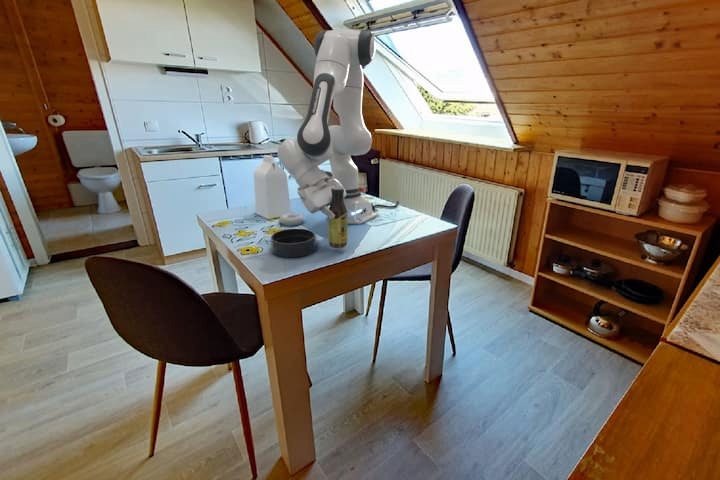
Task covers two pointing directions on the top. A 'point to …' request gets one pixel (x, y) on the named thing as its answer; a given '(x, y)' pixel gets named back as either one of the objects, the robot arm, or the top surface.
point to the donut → (291, 219)
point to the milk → (271, 189)
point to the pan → (293, 242)
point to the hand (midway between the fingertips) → (339, 214)
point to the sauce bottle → (338, 219)
